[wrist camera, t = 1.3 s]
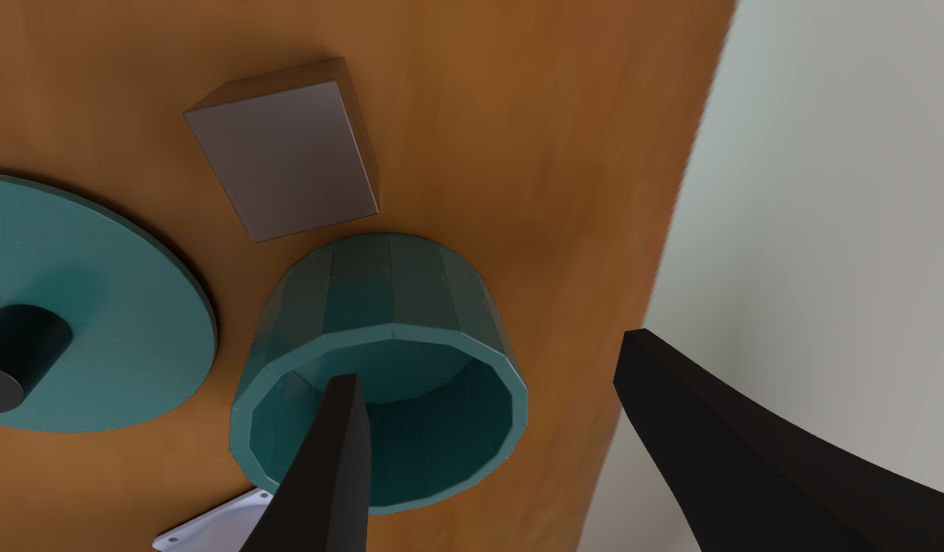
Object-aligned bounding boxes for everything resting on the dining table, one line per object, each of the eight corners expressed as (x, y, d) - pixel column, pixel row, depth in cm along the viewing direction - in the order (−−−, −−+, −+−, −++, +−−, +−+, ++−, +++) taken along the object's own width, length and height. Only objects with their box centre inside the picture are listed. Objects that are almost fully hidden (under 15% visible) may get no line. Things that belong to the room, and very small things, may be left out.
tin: (356, 431, 26) (352, 542, 21) (208, 308, 20) (150, 425, 15) (524, 348, 25) (564, 444, 20) (426, 187, 19) (448, 268, 13)
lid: (77, 448, 23) (24, 532, 19) (-273, 276, 15) (-460, 363, 12) (282, 338, 21) (265, 407, 18) (6, 91, 14) (-115, 127, 11)
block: (275, 193, 17) (252, 245, 14) (224, 82, 15) (180, 112, 12) (378, 169, 18) (379, 214, 14) (343, 56, 15) (336, 78, 12)
